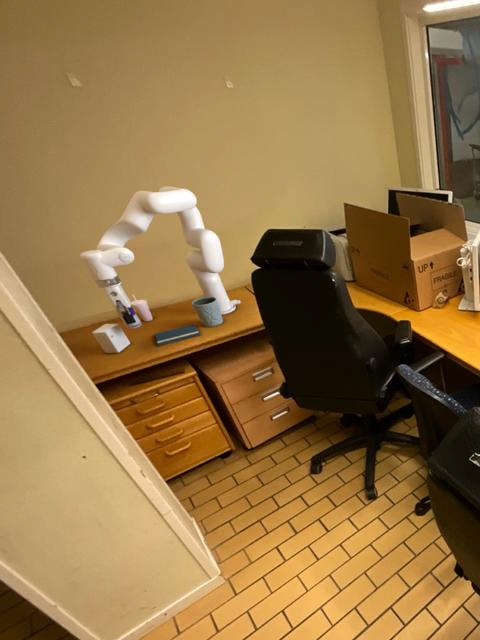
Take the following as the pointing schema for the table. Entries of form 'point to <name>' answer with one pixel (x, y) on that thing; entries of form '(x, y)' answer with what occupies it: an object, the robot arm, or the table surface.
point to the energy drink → (138, 323)
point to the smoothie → (142, 309)
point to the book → (176, 334)
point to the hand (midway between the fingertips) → (131, 320)
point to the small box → (111, 338)
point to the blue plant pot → (208, 311)
